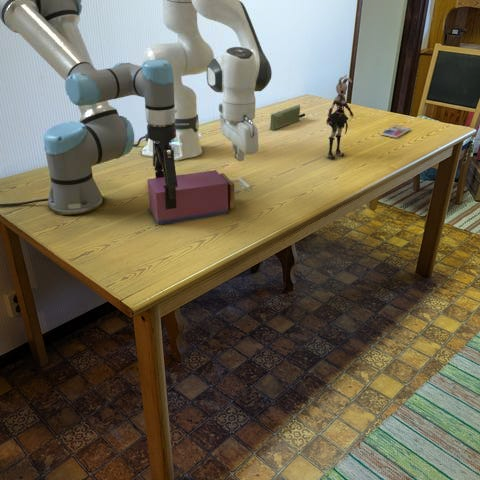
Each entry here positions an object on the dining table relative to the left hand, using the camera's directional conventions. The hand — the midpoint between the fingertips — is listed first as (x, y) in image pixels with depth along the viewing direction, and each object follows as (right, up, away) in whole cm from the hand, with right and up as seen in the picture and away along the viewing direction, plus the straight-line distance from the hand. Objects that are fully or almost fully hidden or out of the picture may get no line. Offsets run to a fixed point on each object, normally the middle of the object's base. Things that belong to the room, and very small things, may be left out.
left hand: (166, 200), depth 143 cm
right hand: (+20, +12, +2) cm, 24 cm away
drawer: (+11, -1, +6) cm, 13 cm away
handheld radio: (+43, +40, +82) cm, 101 cm away
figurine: (+56, +20, +46) cm, 75 cm away
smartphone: (+87, +34, +72) cm, 118 cm away
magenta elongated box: (+6, -3, +4) cm, 8 cm away
